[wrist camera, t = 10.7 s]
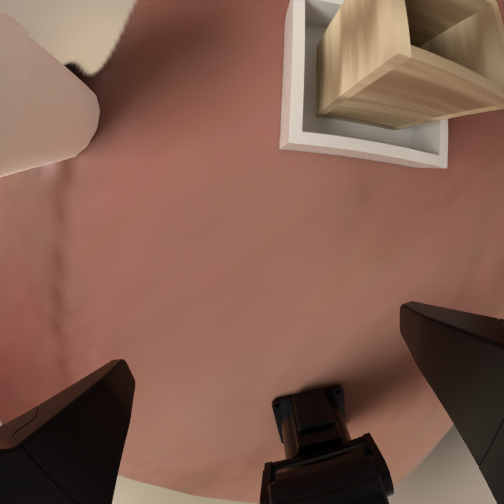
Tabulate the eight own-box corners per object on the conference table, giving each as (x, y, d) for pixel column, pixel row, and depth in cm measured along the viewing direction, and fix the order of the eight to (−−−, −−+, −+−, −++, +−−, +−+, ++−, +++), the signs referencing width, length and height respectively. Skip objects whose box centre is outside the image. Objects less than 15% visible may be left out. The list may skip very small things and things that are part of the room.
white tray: (413, 167, 20) (446, 168, 16) (279, 149, 20) (288, 142, 15) (411, 47, 17) (439, 28, 13) (284, 19, 17) (293, -12, 13)
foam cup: (118, 52, 17) (19, -28, 5) (122, 166, 20) (-9, 170, 7) (25, 87, 17) (-83, 62, 5) (28, 189, 20) (-94, 215, 7)
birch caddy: (394, 130, 19) (517, 107, 7) (314, 116, 18) (397, 53, 7) (393, 63, 17) (496, 1, 6) (316, 45, 17) (381, -56, 5)
